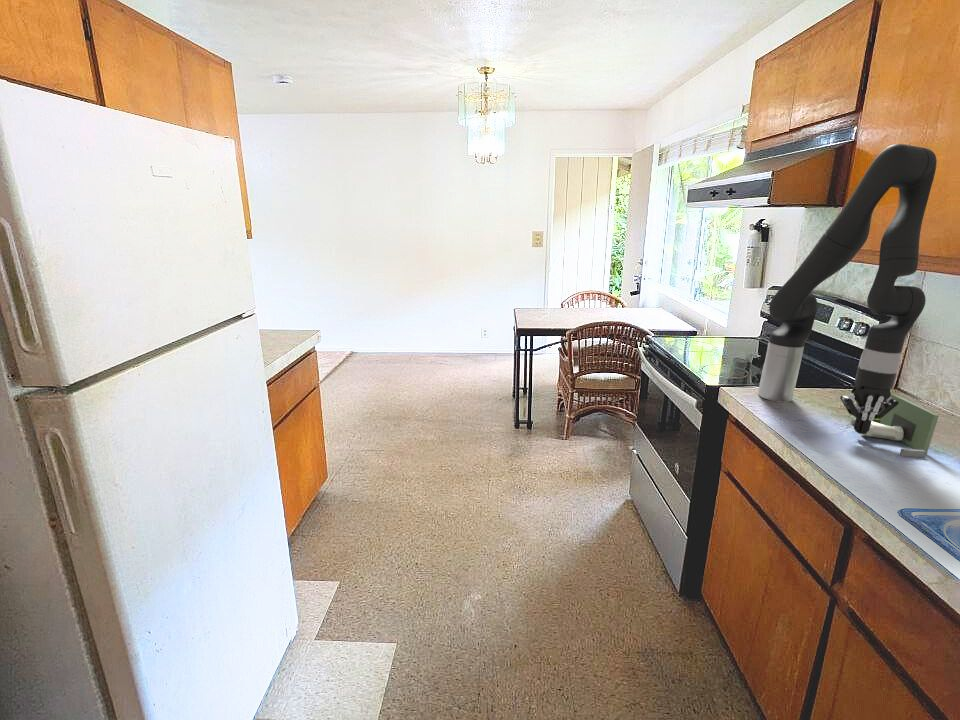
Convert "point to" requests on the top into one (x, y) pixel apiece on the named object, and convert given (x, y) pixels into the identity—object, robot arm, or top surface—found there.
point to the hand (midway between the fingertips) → (860, 432)
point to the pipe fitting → (884, 432)
